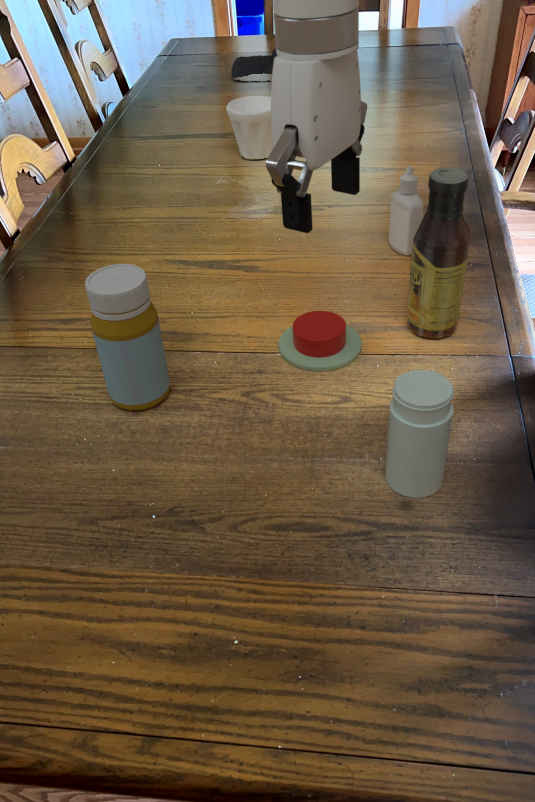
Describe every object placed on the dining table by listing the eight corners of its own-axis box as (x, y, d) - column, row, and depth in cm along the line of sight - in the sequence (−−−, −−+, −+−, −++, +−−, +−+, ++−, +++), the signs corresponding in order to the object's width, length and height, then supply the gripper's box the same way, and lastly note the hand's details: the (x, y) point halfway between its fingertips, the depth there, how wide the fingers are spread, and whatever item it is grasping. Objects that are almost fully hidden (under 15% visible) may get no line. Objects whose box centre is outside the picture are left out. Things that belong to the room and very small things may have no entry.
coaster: (376, 337, 87) (376, 333, 87) (335, 381, 81) (335, 377, 81) (306, 315, 92) (306, 311, 92) (262, 355, 86) (262, 351, 86)
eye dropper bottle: (389, 257, 102) (393, 175, 95) (388, 238, 106) (392, 159, 99) (420, 257, 102) (427, 175, 94) (418, 238, 106) (424, 159, 98)
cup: (242, 169, 130) (238, 117, 124) (222, 151, 137) (217, 101, 131) (292, 157, 133) (290, 106, 127) (270, 141, 140) (267, 91, 134)
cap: (355, 336, 87) (355, 319, 85) (328, 363, 83) (328, 346, 81) (311, 321, 90) (310, 305, 88) (282, 347, 86) (282, 330, 84)
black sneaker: (235, 65, 182) (233, 45, 179) (321, 61, 180) (321, 40, 177) (229, 83, 170) (227, 62, 167) (322, 79, 168) (321, 57, 165)
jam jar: (452, 469, 70) (466, 379, 63) (428, 506, 66) (440, 415, 59) (400, 449, 72) (408, 360, 65) (374, 483, 69) (379, 394, 62)
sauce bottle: (407, 312, 91) (419, 159, 78) (457, 315, 90) (478, 160, 77) (404, 341, 86) (416, 183, 74) (457, 345, 85) (479, 185, 72)
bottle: (173, 408, 79) (151, 291, 70) (109, 418, 79) (79, 301, 69) (169, 371, 85) (148, 257, 75) (110, 379, 84) (81, 266, 74)
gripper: (329, 8, 71) (333, 174, 82) (226, 55, 61) (246, 238, 72) (397, 11, 68) (392, 184, 79) (301, 62, 57) (310, 253, 68)
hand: (322, 210), depth 75 cm, fingers open, 9 cm apart
